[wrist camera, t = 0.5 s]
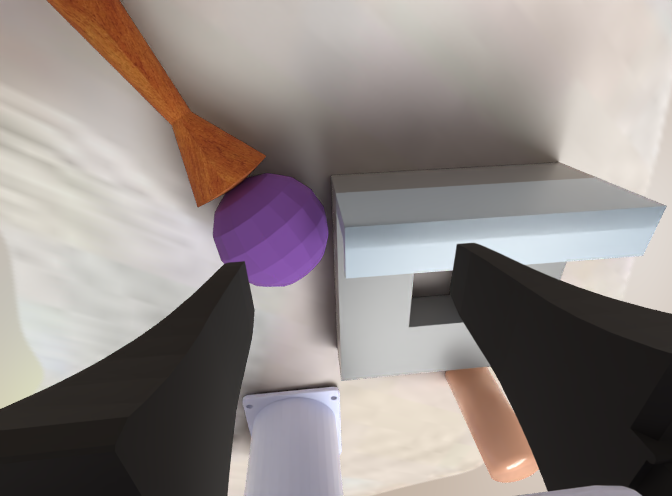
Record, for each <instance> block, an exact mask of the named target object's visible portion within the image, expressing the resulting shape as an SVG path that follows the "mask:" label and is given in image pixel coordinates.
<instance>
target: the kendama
mask: <svg viewBox="0 0 672 496" xmlns="http://www.w3.org/2000/svg"><path fill="white" fill-rule="evenodd" d="M47 1H48V2H49V3H50V4H51V5H52V6H53V7H54V8H55V9H56V10H57V11H58V12H59V13H60V14H61V15H62V16H63V17H64V18H65V19H66V20H67V21H68V22H69V23H70V24H71V25H72V26H73V27H74V28H75V29H76V30H77V31H78V32H79V33H80V34H81V35H82V36H83V37H84V38H85V39H86V40H87V41H88V42H89V43H90V44H91V45H92V46H93V47H94V48H95V49H96V50H97V51H98V52H99V53H100V54H101V55H102V56H103V57H104V58H105V59H106V60H107V61H108V62H109V63H110V64H111V65H112V66H113V67H114V68H115V69H116V70H117V71H118V72H119V73H120V74H121V75H122V76H123V77H124V78H125V79H126V80H127V81H128V82H129V83H130V84H131V85H132V86H133V87H134V88H135V89H136V90H137V91H138V92H139V93H140V94H141V95H142V96H143V97H144V98H145V99H146V100H147V101H148V102H149V103H150V104H151V105H152V106H153V107H154V108H155V109H156V110H157V111H158V112H159V113H160V114H161V115H162V116H163V117H164V118H165V119H166V120H167V121H168V122H169V123H170V124H171V125H172V127H173V131H174V134H175V137H176V140H177V143H178V146H179V150H180V153H181V156H182V159H183V162H184V165H185V169H186V172H187V175H188V178H189V181H190V184H191V188H192V191H193V194H194V197H195V200H196V203H197V207H200V206H202V205H204V204H206V203H208V202H210V201H211V200H213V199H215V198H217V197H219V196H221V195H223V194H225V195H224V197H223V199H222V200H221V202H220V204H219V206H218V207H217V209H216V211H215V215H214V227H213V238H214V241H215V244H216V247H217V249H218V252H219V255H220V258H221V261H222V262H223V263H224V264H225V263H229V262H241V261H245V265H246V270H247V275H248V280H249V283H252V284H254V285H256V286H265V287H272V286H287V285H290V284H293V283H295V282H296V281H298V280H299V279H301V278H303V277H304V276H305V275H307V274H308V273H309V272H310V271H311V270H313V269H314V267H315V266H316V265H317V264H318V263H319V262H320V260H321V259H322V257H323V255H324V252H325V248H326V243H327V239H328V235H329V234H328V225H327V220H326V215H325V211H324V207H323V205H322V204H321V202H320V201H319V200H318V198H317V197H316V195H315V194H314V193H313V191H312V190H311V189H310V188H308V187H307V186H305V185H304V184H302V183H300V182H299V181H297V180H296V179H294V178H292V177H289V176H283V175H277V174H271V173H264V174H260V175H256V176H252V177H248V178H246V177H247V176H248V175H249V174H250V173H251V172H252V171H253V170H254V169H255V168H256V167H257V166H258V165H259V164H260V163H261V162H262V161H263V159H264V158H265V157H266V155H264V154H262V153H261V152H259V151H257V150H255V149H254V148H252V147H250V146H249V145H247V144H245V143H244V142H242V141H240V140H238V139H237V138H235V137H233V136H232V135H230V134H228V133H227V132H225V131H223V130H221V129H220V128H218V127H216V126H215V125H213V124H211V123H210V122H208V121H206V120H204V119H203V118H201V117H199V116H198V115H196V114H194V113H193V112H191V111H190V109H189V108H188V106H187V105H186V103H185V101H184V100H183V98H182V97H181V95H180V94H179V92H178V91H177V89H176V87H175V86H174V84H173V83H172V81H171V80H170V78H169V77H168V75H167V74H166V72H165V70H164V69H163V67H162V66H161V64H160V63H159V61H158V60H157V58H156V56H155V55H154V53H153V52H152V50H151V49H150V47H149V46H148V44H147V43H146V41H145V39H144V38H143V36H142V35H141V33H140V32H139V30H138V29H137V27H136V25H135V24H134V22H133V21H132V19H131V18H130V16H129V15H128V13H127V12H126V10H125V8H124V7H123V5H122V4H121V2H120V1H119V0H47Z"/></svg>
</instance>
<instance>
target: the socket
mask: <svg viewBox="0 0 672 496" xmlns="http://www.w3.org/2000/svg"><path fill="white" fill-rule="evenodd" d="M331 188H332V216H333V243H334V270H335V297H336V324H337V350H338V358H339V365H340V373H341V381H345V380H355V379H366V378H376V377H386V376H397V375H407V374H417V373H428V372H438V371H448V370H458V369H469V368H479V367H489V366H490V364H489V363H488V361H487V360H486V358H485V356H484V355H483V353H482V352H481V350H480V348H479V347H478V345H477V344H476V342H475V341H474V339H473V337H472V336H471V334H470V332H469V331H468V329H467V328H466V326H465V324H464V323H463V321H462V319H461V318H460V316H459V314H458V311H457V309H456V307H455V305H454V302H453V300H452V297H451V295H440V296H427V297H415V298H412V289H413V279H414V273H424V272H437V271H450V270H453V266H454V259H455V252H456V246H457V244H463V243H477V244H480V245H482V246H485V247H487V248H489V249H492V250H494V251H496V252H498V253H500V254H502V255H505V256H507V257H509V258H511V259H513V260H515V261H517V262H519V263H522V264H524V265H526V266H528V267H530V268H532V269H535V270H537V271H539V272H542V273H544V274H546V275H549V276H551V277H553V278H556V279H558V280H560V279H561V276H562V273H563V271H564V268H565V265H566V262H567V261H580V260H593V259H606V258H619V257H632V256H643V254H644V252H645V250H646V248H647V246H648V244H649V242H650V240H651V238H652V235H653V234H654V231H655V229H656V227H657V225H658V223H659V221H660V219H661V217H662V215H663V212H664V210H665V209H666V205H663V204H661V203H658V202H656V201H653V200H651V199H648V198H646V197H643V196H641V195H639V194H636V193H634V192H631V191H629V190H626V189H624V188H621V187H619V186H616V185H614V184H611V183H609V182H607V181H604V180H602V179H599V178H597V177H594V176H592V175H589V174H587V173H584V172H582V171H580V170H577V169H575V168H572V167H570V166H567V165H565V164H562V163H560V162H557V163H540V164H522V165H504V166H487V167H469V168H451V169H433V170H416V171H398V172H380V173H362V174H345V175H331Z"/></svg>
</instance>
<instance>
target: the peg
mask: <svg viewBox="0 0 672 496" xmlns="http://www.w3.org/2000/svg"><path fill="white" fill-rule="evenodd" d="M445 376H446V379H447V381H448V384H449V386H450V388H451V390H452V392H453V395H454V397H455V399H456V401H457V403H458V406H459V408H460V410H461V412H462V414H463V417H464V419H465V421H466V423H467V425H468V428H469V430H470V432H471V434H472V436H473V439H474V441H475V443H476V445H477V447H478V449H479V452H480V454H481V456H482V458H483V460H484V463H485V465H486V467H487V469H488V471H489V473H490V475H491V478H493V480H495V481H498V482H514V481H519V480H522V479H524V478H527V477H529V476H531V475H532V474H534V473H535V472H536V471H537V470H538V469H539V468H538V465H537V463H536V461H535V458H534V456H533V453H532V451H531V448H530V446H529V444H528V441H527V439H526V437H525V435H524V432H523V430H522V428H521V426H520V424H519V421H518V419H517V417H516V415H515V413H514V411H513V409H512V408H511V406H510V404H509V403H508V401H507V400H506V398H505V396H504V395H503V393H502V391H501V390H500V388H499V386H498V385H497V383H496V381H495V380H494V378H493V376H492V375H491V373H490V371H489V370H488V368H487V367H479V368H469V369H458V370H448V371H446V373H445Z"/></svg>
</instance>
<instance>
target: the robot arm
mask: <svg viewBox="0 0 672 496" xmlns="http://www.w3.org/2000/svg"><path fill="white" fill-rule="evenodd" d="M449 293H450V295H451V297H452V300H453V302H454V305H455V307H456V309H457V311H458V314H459V316H460V318H461V319H462V321H463V323H464V324H465V326H466V328H467V329H468V331H469V332H470V334H471V336H472V337H473V339H474V341H475V342H476V344H477V345H478V347H479V348H480V350H481V352H482V353H483V355H484V356H485V358H486V360H487V361H488V363H489V364H490V366H491V368H492V369H493V371H494V373H495V374H496V376H497V378H498V380H499V382H500V383H501V386H502V388H503V390H504V392H505V394H506V396H507V398H508V400H509V402H510V404H511V406H512V408H513V410H514V412H515V415H516V417H517V419H518V421H519V424H520V426H521V428H522V430H523V432H524V435H525V437H526V439H527V441H528V444H529V446H530V448H531V451H532V453H533V456H534V458H535V461H536V463H537V465H538V468H539V470H540V473H541V475H542V477H543V480H544V483H545V485H546V488H547V490H548V492H542V493H534V494H525V495H518V496H672V314H670V313H665V312H661V311H657V310H653V309H649V308H644V307H641V306H638V305H634V304H630V303H627V302H623V301H619V300H616V299H613V298H609V297H606V296H603V295H600V294H597V293H594V292H591V291H588V290H585V289H582V288H579V287H576V286H574V285H571V284H568V283H566V282H563V281H561V280H558V279H556V278H553V277H551V276H549V275H546V274H544V273H542V272H539V271H537V270H535V269H532V268H530V267H528V266H526V265H524V264H522V263H519V262H517V261H515V260H513V259H511V258H509V257H507V256H505V255H502V254H500V253H498V252H496V251H494V250H492V249H489V248H487V247H485V246H482V245H480V244H477V243H463V244H457V246H456V252H455V259H454V266H453V272H452V279H451V285H450V292H449ZM253 323H254V305H253V300H252V295H251V290H250V285H249V280H248V275H247V270H246V265H245V261H241V262H229V263H225V264H224V265H223V266H222V267H221V268H220V269H219V270H218V271H217V272H216V273H215V274H214V275H213V276H212V277H211V278H210V279H209V280H208V281H206V282H205V283H204V284H203V285H202V286H201V287H200V288H199V289H198V290H197V291H196V292H195V293H194V294H193V295H192V296H191V297H189V298H188V299H187V300H186V301H185V302H184V303H182V304H181V305H180V306H179V307H178V308H177V309H175V310H174V311H173V312H172V313H171V314H170V315H168V316H167V317H166V318H164V319H163V320H162V321H161V322H159V323H158V324H157V325H155V326H154V327H152V328H151V329H150V330H148V331H147V332H145V333H144V334H143V335H141V336H140V337H138V338H137V339H135V340H134V341H132V342H130V343H129V344H127V345H125V346H124V347H122V348H121V349H119V350H117V351H116V352H114V353H112V354H111V355H109V356H107V357H106V358H104V359H102V360H101V361H99V362H97V363H95V364H93V365H92V366H90V367H88V368H86V369H84V370H82V371H81V372H79V373H77V374H75V375H73V376H71V377H69V378H67V379H65V380H63V381H61V382H59V383H57V384H55V385H53V386H51V387H49V388H47V389H44V390H42V391H40V392H38V393H35V394H33V395H31V396H29V397H26V398H24V399H22V400H20V401H18V402H15V403H13V404H11V405H9V406H6V407H4V408H2V409H0V496H227V493H228V482H229V471H230V461H231V452H232V442H233V434H234V425H235V417H236V409H237V404H238V398H239V393H240V389H241V384H242V380H243V376H244V371H245V367H246V363H247V358H248V354H249V349H250V345H251V340H252V334H253ZM242 403H243V407H244V411H245V415H246V419H247V423H248V427H249V431H250V435H251V445H250V453H249V461H248V469H247V477H246V485H245V493H244V496H344V495H343V485H342V475H341V465H340V454H341V452H342V450H341V422H340V394H339V389H338V388H337V387H325V388H314V389H304V390H294V391H284V392H273V393H263V394H253V395H246V396H244V397H243V402H242Z"/></svg>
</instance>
